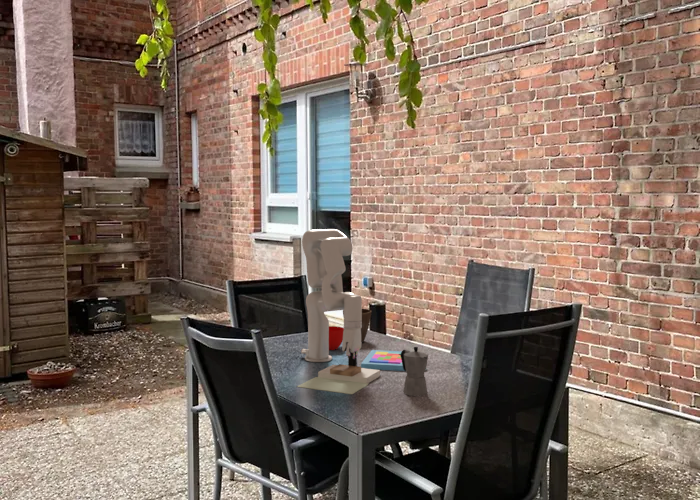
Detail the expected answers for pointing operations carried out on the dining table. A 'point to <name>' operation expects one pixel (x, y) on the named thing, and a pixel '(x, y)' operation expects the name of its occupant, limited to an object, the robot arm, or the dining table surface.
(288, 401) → the dining table surface
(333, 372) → the tile
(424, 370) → the coffeepot
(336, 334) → the ceramic cup
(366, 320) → the plant pot
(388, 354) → the tetris game
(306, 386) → the mat
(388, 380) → the dining table surface
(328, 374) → the board
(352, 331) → the robot arm
